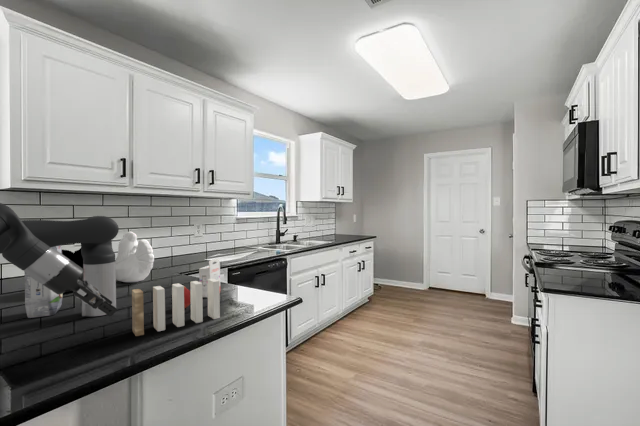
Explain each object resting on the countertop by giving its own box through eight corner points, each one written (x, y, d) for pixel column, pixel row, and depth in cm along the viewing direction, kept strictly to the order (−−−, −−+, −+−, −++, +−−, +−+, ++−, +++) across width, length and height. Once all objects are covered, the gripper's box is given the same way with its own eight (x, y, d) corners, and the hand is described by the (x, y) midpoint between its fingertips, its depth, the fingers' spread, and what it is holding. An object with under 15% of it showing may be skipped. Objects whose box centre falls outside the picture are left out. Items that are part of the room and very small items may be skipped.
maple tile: (135, 336, 93) (135, 293, 92) (132, 331, 97) (131, 289, 96) (143, 334, 94) (143, 292, 94) (140, 329, 98) (139, 288, 98)
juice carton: (23, 320, 108) (21, 236, 107) (32, 311, 117) (31, 234, 117) (57, 315, 112) (56, 235, 112) (64, 307, 121) (63, 233, 121)
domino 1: (157, 331, 96) (157, 290, 96) (153, 326, 100) (152, 286, 100) (165, 329, 97) (164, 288, 97) (160, 325, 101) (160, 285, 101)
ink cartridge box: (210, 292, 142) (209, 257, 142) (220, 292, 141) (220, 258, 141) (198, 297, 134) (198, 260, 134) (210, 297, 133) (209, 261, 133)
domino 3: (196, 323, 103) (195, 284, 103) (190, 319, 107) (190, 281, 107) (202, 321, 104) (202, 283, 104) (197, 317, 108) (196, 280, 108)
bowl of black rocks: (38, 300, 132) (37, 252, 132) (36, 291, 147) (36, 248, 147) (98, 291, 145) (97, 248, 145) (91, 284, 160) (91, 245, 160)
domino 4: (213, 319, 106) (213, 281, 106) (207, 315, 110) (207, 279, 110) (219, 318, 108) (219, 280, 108) (213, 314, 112) (213, 278, 112)
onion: (178, 306, 121) (178, 284, 121) (195, 305, 122) (194, 284, 122) (172, 311, 116) (172, 288, 115) (190, 310, 116) (189, 287, 116)
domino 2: (177, 327, 100) (177, 287, 99) (172, 322, 104) (172, 284, 103) (184, 325, 101) (183, 286, 101) (179, 321, 105) (178, 283, 105)
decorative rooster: (107, 281, 166) (106, 231, 166) (141, 276, 178) (140, 230, 178) (126, 288, 150) (125, 233, 150) (161, 282, 162) (161, 231, 162)
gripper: (41, 278, 84) (97, 314, 91) (39, 288, 73) (103, 328, 80) (67, 255, 87) (119, 292, 95) (69, 262, 76) (128, 302, 83)
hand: (111, 309), depth 87 cm, fingers open, 8 cm apart
